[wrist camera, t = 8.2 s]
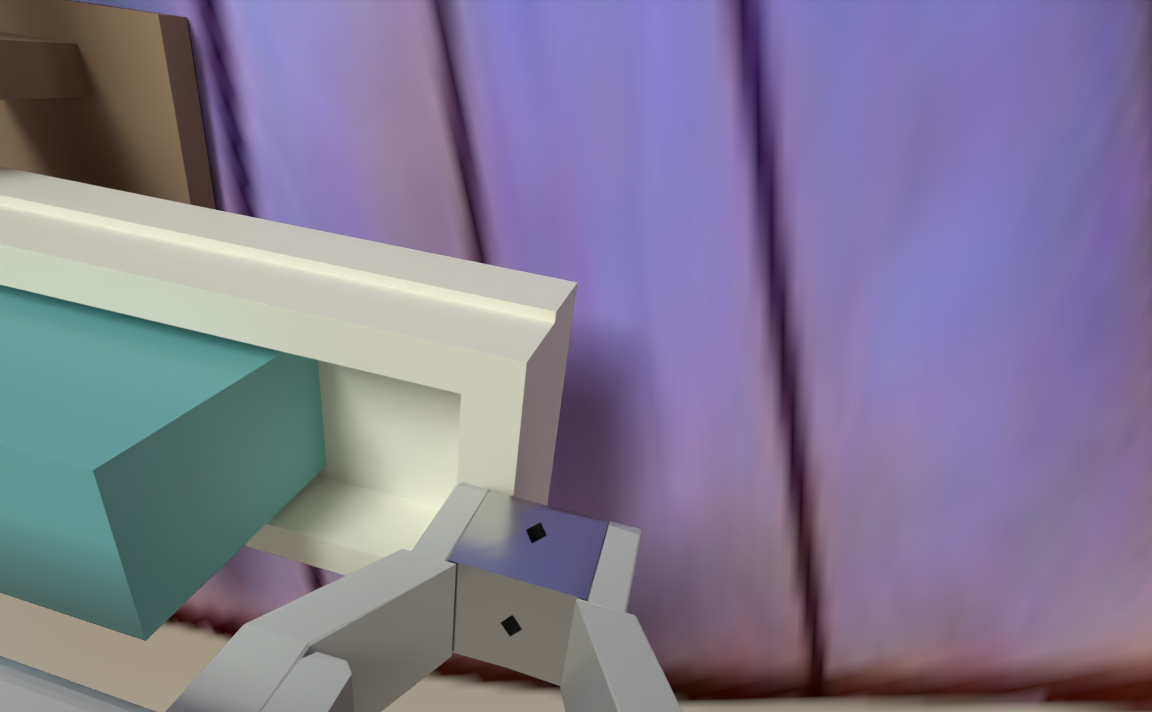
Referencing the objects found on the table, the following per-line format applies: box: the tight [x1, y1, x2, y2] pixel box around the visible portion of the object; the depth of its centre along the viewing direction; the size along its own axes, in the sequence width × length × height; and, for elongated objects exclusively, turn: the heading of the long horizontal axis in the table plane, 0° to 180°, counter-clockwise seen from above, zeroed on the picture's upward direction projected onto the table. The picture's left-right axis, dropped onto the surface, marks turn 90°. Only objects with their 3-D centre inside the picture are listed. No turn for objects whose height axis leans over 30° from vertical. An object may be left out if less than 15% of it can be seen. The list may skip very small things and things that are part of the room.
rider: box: [0, 285, 326, 641], centre depth 11 cm, size 7×3×4 cm, turn 83°
